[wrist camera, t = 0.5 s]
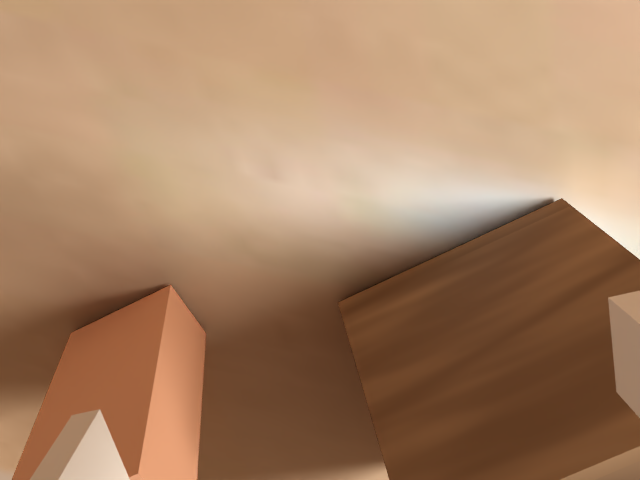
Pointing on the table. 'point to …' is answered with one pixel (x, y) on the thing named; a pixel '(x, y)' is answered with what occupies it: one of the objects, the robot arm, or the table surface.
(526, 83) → the table surface
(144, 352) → the tall salmon pillar block
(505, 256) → the tip box
